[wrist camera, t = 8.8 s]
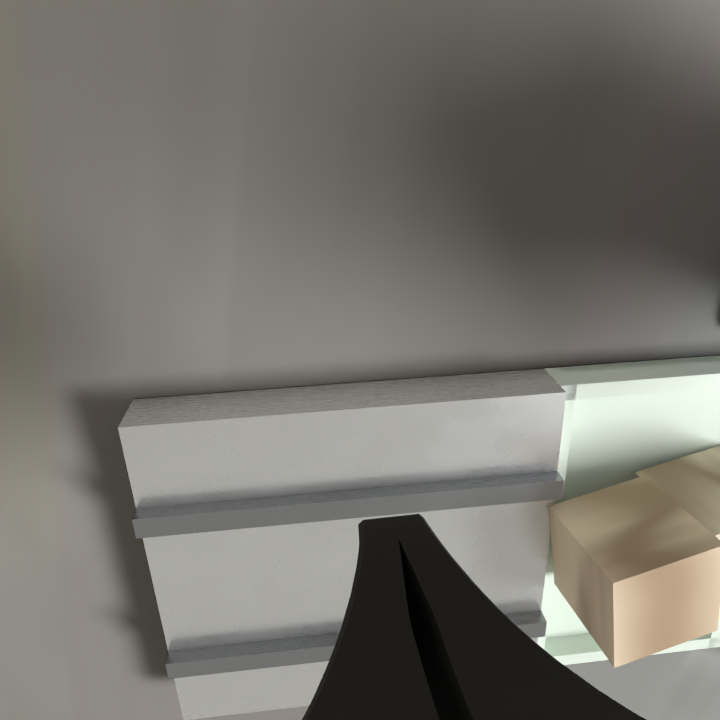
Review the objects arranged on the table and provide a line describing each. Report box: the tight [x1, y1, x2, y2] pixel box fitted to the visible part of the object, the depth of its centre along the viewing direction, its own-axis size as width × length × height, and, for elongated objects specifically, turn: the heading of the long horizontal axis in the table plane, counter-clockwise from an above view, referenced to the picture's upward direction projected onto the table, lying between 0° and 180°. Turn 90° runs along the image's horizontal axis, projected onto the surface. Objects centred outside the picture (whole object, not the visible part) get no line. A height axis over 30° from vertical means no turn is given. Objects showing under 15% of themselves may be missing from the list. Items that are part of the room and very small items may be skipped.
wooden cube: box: [635, 445, 720, 618], centre depth 23 cm, size 4×4×4 cm
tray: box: [537, 355, 720, 665], centre depth 25 cm, size 9×14×2 cm, turn 2°
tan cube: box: [549, 476, 720, 668], centre depth 22 cm, size 4×4×4 cm
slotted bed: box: [118, 369, 567, 720], centre depth 23 cm, size 15×14×3 cm
